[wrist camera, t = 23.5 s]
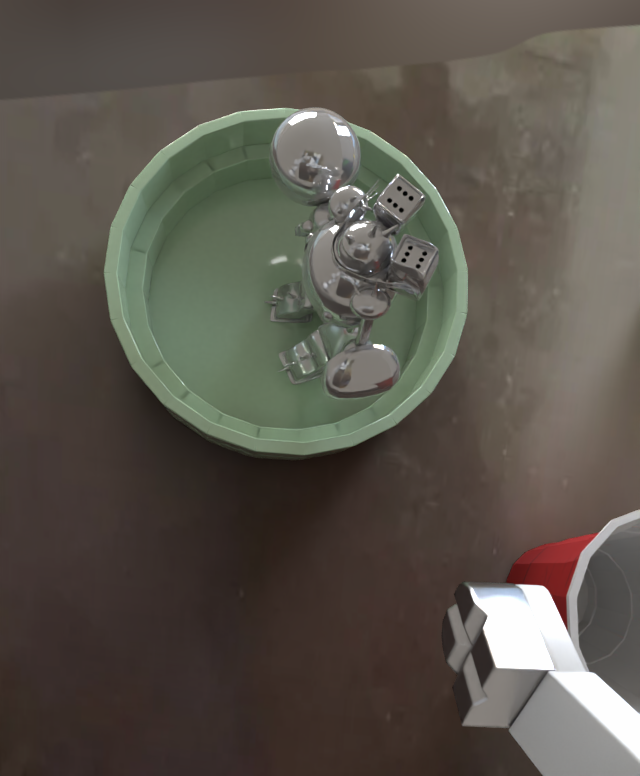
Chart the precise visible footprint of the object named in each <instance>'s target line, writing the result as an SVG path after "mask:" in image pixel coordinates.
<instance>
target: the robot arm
mask: <svg viewBox="0 0 640 776" xmlns="http://www.w3.org/2000/svg"><path fill="white" fill-rule="evenodd" d="M454 595H455V598H456V602H457V604H455V605H453V606H452V607H450V608H449V609H447V612H446V614H445V617H444V619H443V624H442V645H443V651H444V656H445V660H446V663H447V664H448V665H449V666H450V667H451V668H452V669H453V671H454V672H455V673H456V674H457V678H456V680H455V682H454V685H453V687H452V688H453V692H454V696H455V700H456V704H457V707H458V711H459V715H460V719H461V723H462V726H473V727H496V728H510V729H509V730H508V731H509V732H510V733H511V735H512V736H513V737H514V739H515V740H516V741H517V743H518V744H519V745H520V747H521V748H522V749H523V750H524V752H525V753H526V754H527V756H528V757H529V758H530V760H531V761H532V762H533V764H534V765H535V766H536V767H537V769H538V770H539V771H540V773H541V774H542V775H543V776H640V714H639V713H637V712H636V711H635V710H634V709H633V708H632V707H631V706H630V705H629V704H628V703H627V702H626V701H624V700H623V699H622V698H621V697H620V696H619V695H618V694H617V693H616V692H615V691H614V690H613V689H611V688H610V687H609V686H608V685H607V684H606V683H605V682H604V681H603V680H602V679H601V678H599V677H598V676H597V675H596V674H595V673H593V672H586V671H585V668H584V666H583V664H582V662H581V660H580V658H579V655H578V653H577V651H576V649H575V647H574V645H573V642H572V640H571V638H570V636H569V634H568V632H567V629H566V627H565V625H564V623H563V621H562V619H561V616H560V614H559V612H558V610H557V608H556V606H555V603H554V601H553V599H552V597H551V595H550V593H549V591H548V590H547V589H546V588H545V587H544V586H540V585H519V584H516V585H515V584H513V583H487V582H462V583H461V584H459V585H458V587H457V589H456V591H455V594H454Z"/></svg>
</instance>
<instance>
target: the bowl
mask: <svg viewBox="0 0 640 776" xmlns="http://www.w3.org/2000/svg"><path fill="white" fill-rule="evenodd" d="M297 111H299V110H297V109H290V108H277V109H265V110H253V111H241V112H237V113H234V114H231V115H228V116H225V117H222V118H219V119H216V120H213V121H210V122H207V123H204V124H201V125H198V127H195V128H194V129H192V130H191V131H189V132H188V133H186V134H185V135H183V136H182V137H180V138H179V139H177V140H176V141H174V142H173V143H171V144H170V145H168V146H167V147H165V148H164V149H162V150H161V151H160V152H159V153H158V154H157V155H156V156H155V157H154V158H153V159H152V161H151V162H150V163H149V164H148V165H147V166H146V167H145V169H144V170H143V171H142V172H141V173H140V174H139V175H138V177H137V178H136V179H135V180H134V181H133V182H132V184H131V186H129V188H128V191H127V193H126V195H125V197H124V199H123V201H122V204H121V206H120V208H119V210H118V212H117V214H116V216H115V219H114V221H113V223H112V225H111V228H110V233H109V240H108V247H107V254H106V260H105V267H104V280H105V287H106V294H107V301H108V308H109V315H110V320H111V323H112V326H113V328H114V330H115V332H116V335H117V337H118V339H119V341H120V343H121V346H122V348H123V350H124V352H125V354H126V357H127V359H128V361H129V363H130V365H131V367H132V368H133V370H134V371H135V372H136V373H137V374H138V376H139V377H140V378H141V379H142V381H143V382H144V383H145V384H146V385H147V387H148V388H149V389H150V390H151V391H152V393H153V394H154V395H155V396H156V397H157V398H158V400H159V401H160V402H161V403H162V404H163V406H164V407H165V408H166V409H167V410H168V412H169V413H170V414H171V415H172V416H173V417H174V418H175V419H177V420H178V421H179V422H181V423H182V424H184V425H185V426H187V427H188V428H190V429H191V430H192V431H194V432H195V433H197V434H198V435H200V436H201V437H203V438H204V439H206V440H207V441H208V442H211V443H213V444H216V445H218V446H221V447H224V448H227V449H230V450H233V451H235V452H238V453H241V454H244V455H247V456H250V457H254V458H267V459H280V460H293V461H295V460H296V461H298V460H303V459H308V458H314V457H319V456H324V455H329V454H335V453H339V452H341V451H344V450H346V449H348V448H351V447H353V446H355V445H357V444H359V443H361V442H363V441H365V440H368V439H370V438H372V437H374V436H376V435H378V434H380V433H382V432H384V431H386V430H388V429H390V428H392V427H394V426H396V425H397V424H398V423H400V422H401V421H402V420H403V419H404V418H405V417H406V416H407V415H409V414H410V413H411V412H412V411H413V410H414V409H415V408H416V407H417V406H419V405H420V404H421V403H422V402H423V401H424V400H425V399H426V398H427V397H429V396H430V394H431V393H432V392H433V390H434V389H435V387H436V386H437V384H438V382H439V381H440V379H441V378H442V376H443V374H444V373H445V371H446V370H447V368H448V367H449V365H450V363H451V362H452V360H453V359H454V356H455V354H456V350H457V347H458V344H459V340H460V337H461V334H462V330H463V327H464V323H465V320H466V317H467V315H466V314H467V296H468V269H467V265H466V261H465V257H464V253H463V249H462V245H461V240H460V236H459V232H458V229H457V227H456V225H455V223H454V221H453V219H452V217H451V215H450V213H449V212H448V210H447V208H446V206H445V204H444V202H443V200H442V198H441V196H440V195H439V193H438V191H437V189H436V188H435V187H434V186H433V185H432V184H431V182H430V181H429V180H428V179H427V178H426V177H425V176H424V175H423V173H422V172H421V171H420V170H419V169H418V168H417V167H416V166H415V164H414V163H413V162H412V161H411V160H410V159H409V158H407V156H406V155H404V154H403V153H401V152H400V151H398V150H397V149H396V148H394V147H393V146H391V145H390V144H388V143H387V142H386V141H384V140H383V139H381V138H380V137H378V136H377V135H376V134H374V133H373V132H371V131H369V130H366V129H364V128H361V127H359V126H356V125H354V124H351V123H349V122H348V124H349V125H350V126H351V127H352V129H353V130H354V132H355V134H356V135H357V138H358V140H359V144H360V148H361V157H362V158H361V167H360V172H359V175H358V177H357V180H356V182H355V183H354V185H353V186H356V187H358V188H360V189H361V190H362V191H363V192H364V193H365V194H366V193H367V192H368V191H369V190H370V189H371V188H372V187H373V185H374V184H375V183H376V182H377V181H378V180H379V181H378V182H377V184H376V185H375V186H374V187H373V189H372V190H371V191H370V192H369V194H370V193H371V192H372V191H373V190H374V189H375V188H376V187H377V186H378V185H379V186H378V187H377V188H376V190H375V191H374V192H373V193H372V194H371V195H370V196H369V197H368V198H367V199H369V198H370V197H372V196H373V195H375V194H376V193H377V192H379V193H378V194H376V195H375V196H374V197H373V198H371V199H370V200H369V201H368V207H370V208H371V209H373V206H374V204H375V203H376V200H377V198H378V197H379V195H380V194H381V192H382V191H383V190H384V189H385V188H386V186H387V185H388V184H389V183H390V182H391V180H392V179H393V178H394V177H395V176H396V175H397V174H400V175H401V176H402V177H404V178H405V179H406V180H407V181H409V182H410V183H411V184H412V185H413V186H415V187H416V188H417V189H418V190H419V191H421V192H422V193H423V194H424V195H425V202H424V204H423V206H422V208H421V209H420V211H419V212H418V213H417V214H416V215H415V217H414V218H413V219H412V220H411V221H410V223H409V224H408V225H407V226H406V227H405V229H404V230H403V231H402V232H401V233H400V234H399V235H394V236H395V238H396V242H397V246H398V244H399V242H400V240H401V239H402V237H403V235H404V234H407V235H410V236H413V237H415V238H418V239H421V240H424V241H427V242H429V243H431V244H433V245H434V246H435V247H437V248H438V250H439V251H438V255H439V262H438V265H437V268H436V270H435V272H434V274H433V276H432V278H431V280H430V282H429V284H428V286H427V288H426V290H425V291H424V293H423V295H422V297H421V299H420V300H419V301H412V300H409V299H407V298H404V297H402V296H400V295H398V294H397V296H396V298H395V300H394V302H393V304H392V305H391V307H390V309H389V311H388V312H387V313H386V314H385V315H384V316H382V317H381V318H378V319H376V320H375V321H374V322H373V326H372V329H371V333H370V337H369V339H370V341H371V342H372V343H373V344H375V345H383V346H386V347H389V348H391V349H392V350H394V352H395V353H396V355H397V358H398V361H399V364H400V377H399V380H398V382H397V384H396V385H395V386H394V387H393V388H392V389H390V390H389V391H388V392H385V393H383V394H380V395H377V396H372V397H367V398H362V399H353V400H334V399H330V398H328V397H327V396H325V394H324V393H323V390H322V387H321V383H320V378H317V379H314V380H311V381H308V382H304V383H301V384H297V385H294V384H292V383H291V382H290V380H289V377H288V375H287V372H286V371H283V372H278V371H279V370H281V369H283V368H284V366H283V364H282V362H281V360H280V358H279V356H278V354H279V353H280V352H283V351H286V350H288V349H290V348H291V347H293V346H294V345H296V344H298V343H300V342H301V341H303V340H305V339H306V338H307V337H308V335H310V334H311V333H313V332H314V331H316V330H317V329H318V327H319V326H320V325H321V324H323V323H325V322H323V321H321V319H320V317H319V316H318V314H317V312H316V311H315V312H313V317H312V321H311V322H308V323H284V322H272V321H271V320H270V314H271V308H272V304H268V303H264V301H273V298H272V297H270V296H273V293H274V290H275V289H276V288H279V287H280V286H282V285H285V284H288V283H292V282H298V281H301V280H302V260H303V256H304V253H305V252H304V248H305V237H302V236H300V237H299V236H295V227H297V226H298V225H299V224H301V222H305V221H307V220H308V219H309V216H310V213H311V212H312V211H313V210H314V209H315V208H316V207H307V206H303V205H300V204H298V203H295V202H294V201H292V200H290V199H289V198H288V197H286V196H285V195H284V194H283V193H282V192H281V190H280V189H279V188H278V186H277V185H276V183H275V181H274V179H273V177H272V174H271V170H270V164H269V151H270V145H271V141H272V138H273V135H274V133H275V131H276V129H277V128H278V127H279V125H280V124H281V123H282V122H283V121H284V120H285V119H286V118H287V117H288V116H290V115H291V114H293V113H295V112H297ZM369 194H368V195H369ZM368 195H367V196H368ZM364 218H368V219H370V220H374V221H375V220H376V219H375V217H374V214H373V210H371V211H367V213H366V215H365V217H364Z"/></svg>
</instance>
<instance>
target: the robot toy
mask: <svg viewBox="0 0 640 776" xmlns="http://www.w3.org/2000/svg"><path fill="white" fill-rule="evenodd" d="M361 158H362V157H361V148H360V144H359V140H358V138H357V135H356V134H355V132H354V130H353V129H352V127H351V126H350V125H349V124H348V122H347V121H346V120H345V119H344V118H343V117H341V116H340V115H339V114H337V113H335V112H333V111H331V110H328V109H325V108H318V107H312V108H306V109H302V110H299V111H297V112H295V113H293V114H291V115H290V116H288V117H287V118H286V119H285V120H284V121H283V122H282V123H281V124H280V125H279V127H278V128H277V129H276V131H275V133H274V135H273V138H272V141H271V145H270V151H269V164H270V170H271V174H272V177H273V179H274V181H275V183H276V185H277V186H278V188H279V189H280V190H281V192H282V193H283V194H284V195H285V196H286V197H288V198H289V199H290V200H292V201H294V202H295V203H298V204H300V205H303V206H307V207H316V208H315V209H314V210H313V211H312V212H311V213H310V216H309V219H308V220H307V221H305V222H301V224H299V225H298V226H297V227H295V236H299V237H300V236H302V237H305V248H304V252H305V253H304V256H303V260H302V280H301V281H298V282H292V283H288V284H285V285H282V286H280V287H279V288H276V289H275V290H274V293H273V296H270V297H272V298H273V301H264V303H268V304H272V308H271V314H270V320H271V321H272V322H284V323H308V322H311V321H312V317H313V312H315V311H316V312H317V314H318V316H319V317H320V319H321V321H323V322H325V323H323V324H321V325H320V326H319V327H318V329H317V330H316V331H314V332H313V333H311V334H310V335H308V337H307V338H306V339H305V340H303V341H301V342H300V343H298V344H296V345H294V346H293V347H291V348H290V349H288V350H286V351H283V352H280V353H279V354H278V356H279V358H280V360H281V362H282V364H283V366H284V368H283V369H281V370H279V371H278V372H283V371H286V372H287V375H288V377H289V380H290V382H291V383H292V384H294V385H297V384H301V383H304V382H308V381H311V380H314V379H317V378H320V383H321V387H322V390H323V393H324V394H325V396H327V397H328V398H330V399H334V400H353V399H362V398H367V397H372V396H377V395H380V394H383V393H385V392H388V391H389V390H390V389H392V388H393V387H394V386H395V385H396V384H397V382H398V380H399V377H400V364H399V361H398V358H397V355H396V353H395V352H394V350H392V349H391V348H389V347H386V346H383V345H375V344H373V343H372V342H371V341H370V339H369V337H370V333H371V329H372V326H373V322H374V321H375V320H376V319H378V318H381V317H382V316H384V315H385V314H386V313H387V312H388V311H389V309H390V307H391V305H392V304H393V302H394V300H395V298H396V296H397V294H398V295H400V296H402V297H404V298H407V299H409V300H412V301H419V300H420V299H421V297H422V295H423V293H424V291H425V290H426V288H427V286H428V284H429V282H430V280H431V278H432V276H433V274H434V272H435V270H436V268H437V265H438V262H439V255H438V251H439V250H438V248H437V247H435V246H434V245H433V244H431V243H429V242H427V241H424V240H421V239H418V238H415V237H413V236H410V235H407V234H404V235H403V237H402V239H401V240H400V242H399V244H398V246H397V242H396V238H395V236H394V235H399V234H400V233H401V232H402V231H403V230H404V229H405V227H406V226H407V225H408V224H409V223H410V221H411V220H412V219H413V218H414V217H415V215H416V214H417V213H418V212H419V211H420V209H421V208H422V206H423V204H424V202H425V195H424V194H423V193H422V192H421V191H419V190H418V189H417V188H416V187H415V186H413V185H412V184H411V183H410V182H409V181H407V180H406V179H405V178H404V177H402V176H401V175H400V174H397V175H396V176H395V177H394V178H393V179H392V180H391V182H390V183H389V184H388V185H387V186H386V188H385V189H384V190H383V191H382V192H381V194H380V195H379V197H378V198H377V200H376V203H375V204H374V206H373V209H371V208H370V207H368V201H369V200H370V199H371V198H373V197H374V196H375V195H376V194H378V193H379V192H377V193H376V194H375V195H373V196H372V197H370V198H369V199H367V198H368V197H369V196H370V195H371V194H372V193H373V192H374V191H375V190H376V188H377V187H378V186H379V185H378V186H377V187H376V188H375V189H374V190H373V191H372V192H371V193H370V194H369V192H370V191H371V190H372V189H373V187H374V186H375V185H376V184H377V182H378V181H379V180H378V181H377V182H376V183H375V184H374V185H373V187H372V188H371V189H370V190H369V191H368V192H367V193H366V194H365V193H364V192H363V191H362V190H361V189H360V188H358V187H356V186H353V185H354V183H355V182H356V180H357V177H358V175H359V172H360V167H361ZM368 194H369V195H368ZM367 195H368V196H367ZM371 210H373V214H374V217H375V219H376V220H375V221H374V220H370V219H368V218H364V217H365V215H366V213H367V211H371Z"/></svg>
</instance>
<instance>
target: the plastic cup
mask: <svg viewBox="0 0 640 776" xmlns="http://www.w3.org/2000/svg"><path fill="white" fill-rule="evenodd" d="M507 583H513V584H515V585H516V584H519V585H540V586H544V587H545V588H546V589H547V590H548V591H549V593H550V595H551V597H552V599H553V601H554V603H555V606H556V608H557V610H558V612H559V614H560V616H561V619H562V621H563V623H564V625H565V627H566V629H567V632H568V634H569V636H570V638H571V640H572V642H573V645H574V647H575V649H576V651H577V653H578V655H579V658H580V660H581V662H582V664H583V666H584V668H585V671H586V672H593V673H595V674H596V675H597V676H598V677H599V678H601V679H602V680H603V681H604V682H605V683H606V684H607V685H608V686H609V687H610V688H611V689H613V690H614V691H615V692H616V693H617V694H618V695H619V696H620V697H621V698H622V699H623V700H624V701H626V702H627V703H628V704H629V705H630V706H631V707H632V708H633V709H634V710H635V711H636V712H637V713H639V714H640V509H639V510H637V511H634V512H631V513H629V514H626V515H623V516H621V517H618V518H616V519H613V520H611V521H610V522H609V523H608V524H607V525H606V526H605V527H604V528H603V529H602V530H601V531H600V532H599V533H594V534H590V535H585V536H580V537H575V538H570V539H566V540H563V541H561V542H557V543H550V544H544V545H542V546H539V547H536V548H534V549H531V550H528V551H527V552H525V553H524V554H523V555H522V556H521V557H520V558H519V559H518V560H517V561H516V562H515V563H514V564H513V566H512V568H511V571H510V573H509V576H508V578H507Z"/></svg>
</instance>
